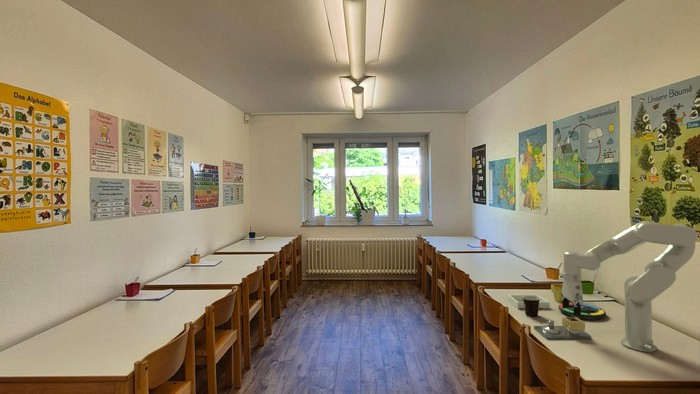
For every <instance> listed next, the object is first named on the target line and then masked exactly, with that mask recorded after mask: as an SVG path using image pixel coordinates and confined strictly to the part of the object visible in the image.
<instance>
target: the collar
mask: <svg viewBox="0 0 700 394" xmlns="http://www.w3.org/2000/svg"><path fill="white" fill-rule="evenodd" d="M561 321H562V323H561V326H564V327H566V328H567V329H569V330H570V331H584V332H586V322H585V321H583V320H581V319H580V318H577V317H571V316H563V317H561Z"/></svg>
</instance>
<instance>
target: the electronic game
mask: <svg viewBox="0 0 700 394" xmlns="http://www.w3.org/2000/svg"><path fill="white" fill-rule="evenodd" d="M577 303H578V302H576V304H577ZM558 310H559V311H560V312H561V313H563V314H564V315H566V316H567V317H577V318H578V319H580V320H581V319H583V320H599V319H601V318H604V317H606V315H607V312H606V310H604V309H603V308H601V307H599V306H596V305H594V304H593V305H592V304H587V303H583V305H582V307H581V315H574V314H573V312H574V303H573V302H569V308H563V307H562V303H560V304H559V305H558Z"/></svg>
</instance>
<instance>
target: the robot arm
mask: <svg viewBox="0 0 700 394" xmlns="http://www.w3.org/2000/svg"><path fill="white" fill-rule="evenodd" d="M698 239H699V236H698V233H697V231H696V230H695V229H694V228H693V227H690V226H689V225H686V224H682V223H676V224H675V223H674V224H672V225H671V224H663V223H662V224H661V223H654V222H652V221H649V220H648V221H647V220H642V221H640V222H637V223H636V224H634V225H632V226H630V227H628V228H626V229H625V230H623V231H621V232H620V233H618V234H617V235H615V236H612V237H611V238H609V239H607V240H606V241H603V242H602V243H600V244H598V245H596V246H594V247H593V248H591V249H589V250H587V251H586V252H585V253H583V254H581V253H580V252H576V251H565V252H564V253H563V265H562V266H563V275H562V280H563V281H562V284H563V288H562V289H561V293H562V294H561V295H562V302H561V304H562V307H563V308H569V303H570V302H571V303H574V312H573V314H574V315H581V307H582V305H583V304H584V299H583V298H584V297H583V296H584V294H583V293H584V292H583V285H582V269H584V270H586V271H587V270H588V271H596V270H598V269H600V268H601V266H602V265H601V263H603V262H604V261H607V260H609V259H610V258H612V257H615V256H618V255H619V256H620V255H624V254H627V253H629V252H631V251H634V250H635V249H636V248H638V247H641V246H642V245H643V244H646V243H651V244H658V245H665V246H666V245H667V247H666V248H665V249H664V250H663V251H662V252H661V253H660V254H658V255H657V256H656V257H655V258H654V259H653V260H651V261H650V262H648V263H647V264H645V266H644V271H643V273H642V274H641V275H634V276H630V277H628V278H627V279H626V280H625V281H624V283H623V292H624V295H623V296H624V335H625V337H624V338H622V339H621V340H620V342H621V345H623V346H624V347H626V348H628V349H631V350H634V351H638V352H645V353H651V352H656V351H657V349H658V346H657V345H656V344H655V343H654V340H653V323H652V322H653V317H652V315H653V308H652V307H653V306H652V301H653V300H655V299H656V298H657V297H659V296H661V295H662V294H663V293H664V292H665V291H666V290H668V289H669V288H670V287H672V286H673V284H674V283H675V282H676V280H677V279H676V278H677V272H678V271H679V270H680V269H681V268H683V267H684V266H685V265H686V264H687V263H688V262H689V261H690V260H691V259H692V258H693V255H694V253H695V250H696V243H697V241H698ZM576 303H577V304H576Z"/></svg>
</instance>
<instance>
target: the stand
mask: <svg viewBox="0 0 700 394" xmlns="http://www.w3.org/2000/svg"><path fill="white" fill-rule="evenodd" d="M567 331H568V332H569V333H572V334H579V333H580V331H570V330H569V329H567Z"/></svg>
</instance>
